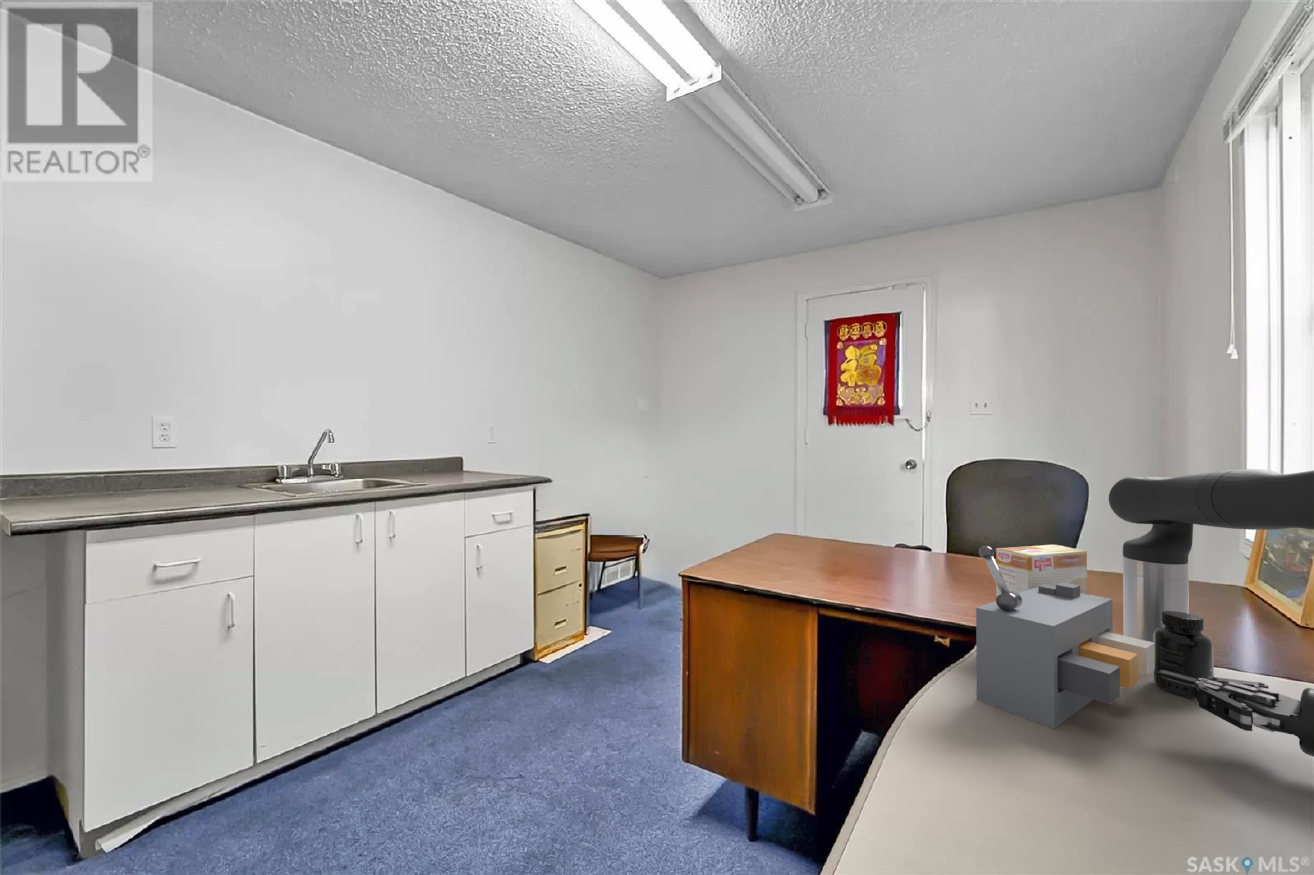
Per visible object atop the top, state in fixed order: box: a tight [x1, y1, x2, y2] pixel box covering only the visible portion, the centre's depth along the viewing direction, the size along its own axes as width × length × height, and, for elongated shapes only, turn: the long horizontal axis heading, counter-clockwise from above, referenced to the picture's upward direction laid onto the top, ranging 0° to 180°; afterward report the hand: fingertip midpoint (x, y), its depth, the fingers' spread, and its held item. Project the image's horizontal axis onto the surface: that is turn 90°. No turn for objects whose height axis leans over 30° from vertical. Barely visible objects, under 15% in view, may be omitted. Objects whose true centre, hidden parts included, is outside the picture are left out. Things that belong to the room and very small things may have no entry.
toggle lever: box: [978, 545, 1022, 611], centre depth 81 cm, size 3×2×10 cm
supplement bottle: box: [1153, 611, 1215, 699], centre depth 84 cm, size 7×7×12 cm
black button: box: [1058, 652, 1121, 705], centre depth 73 cm, size 4×8×4 cm, turn 34°
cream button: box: [1098, 631, 1155, 676], centre depth 82 cm, size 4×8×4 cm, turn 34°
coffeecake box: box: [995, 544, 1088, 599], centre depth 100 cm, size 15×7×20 cm, turn 106°
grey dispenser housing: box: [975, 582, 1114, 729], centre depth 83 cm, size 24×10×16 cm, turn 124°
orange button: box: [1079, 641, 1139, 690], centre depth 78 cm, size 4×8×4 cm, turn 34°
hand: (1158, 678), depth 72 cm, fingers closed
